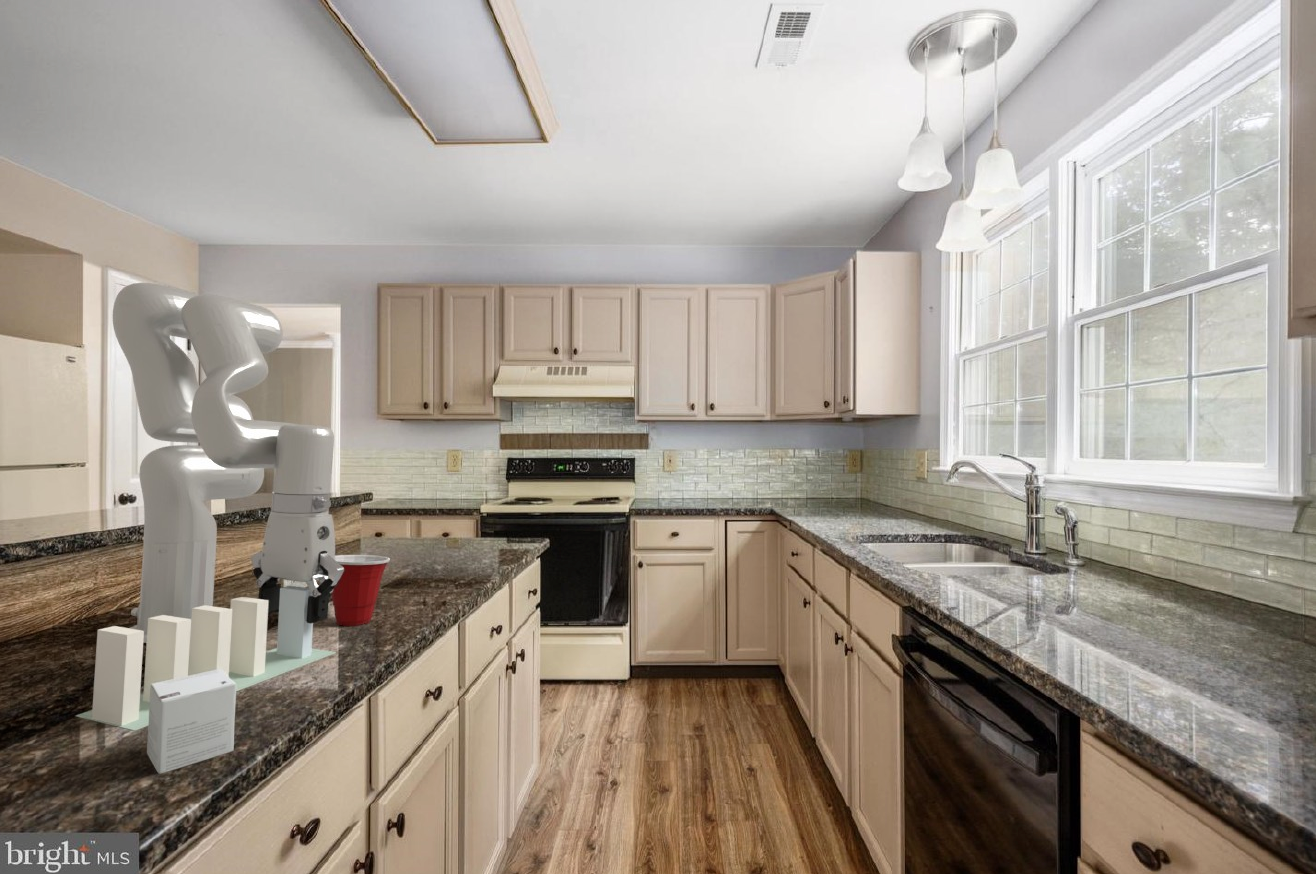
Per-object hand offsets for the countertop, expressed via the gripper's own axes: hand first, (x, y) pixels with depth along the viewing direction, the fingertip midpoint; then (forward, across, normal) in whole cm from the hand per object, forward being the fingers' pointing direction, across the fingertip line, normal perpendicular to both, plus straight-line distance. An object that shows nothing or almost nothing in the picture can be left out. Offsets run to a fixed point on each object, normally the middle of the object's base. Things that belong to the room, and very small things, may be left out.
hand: (292, 616), depth 86 cm
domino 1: (+6, -1, +23) cm, 23 cm away
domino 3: (+6, -1, +13) cm, 14 cm away
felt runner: (+6, -1, +10) cm, 12 cm away
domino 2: (+6, -1, +18) cm, 19 cm away
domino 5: (+6, -1, 0) cm, 6 cm away
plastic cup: (+6, +5, -17) cm, 19 cm away
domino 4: (+6, -1, +8) cm, 10 cm away
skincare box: (+6, -16, +25) cm, 30 cm away
